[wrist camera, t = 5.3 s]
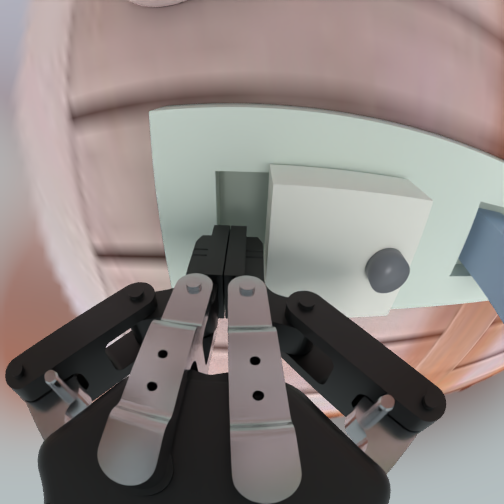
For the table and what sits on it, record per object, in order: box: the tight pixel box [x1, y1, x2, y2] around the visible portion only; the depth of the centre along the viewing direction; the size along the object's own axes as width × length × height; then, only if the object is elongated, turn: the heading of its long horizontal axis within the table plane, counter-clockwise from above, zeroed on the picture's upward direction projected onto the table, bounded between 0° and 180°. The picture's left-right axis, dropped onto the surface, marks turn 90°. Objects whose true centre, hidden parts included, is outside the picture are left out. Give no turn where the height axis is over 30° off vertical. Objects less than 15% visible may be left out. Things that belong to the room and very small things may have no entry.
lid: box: [264, 164, 433, 317], centre depth 12 cm, size 7×7×3 cm
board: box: [149, 103, 504, 309], centre depth 15 cm, size 12×28×2 cm, turn 88°
